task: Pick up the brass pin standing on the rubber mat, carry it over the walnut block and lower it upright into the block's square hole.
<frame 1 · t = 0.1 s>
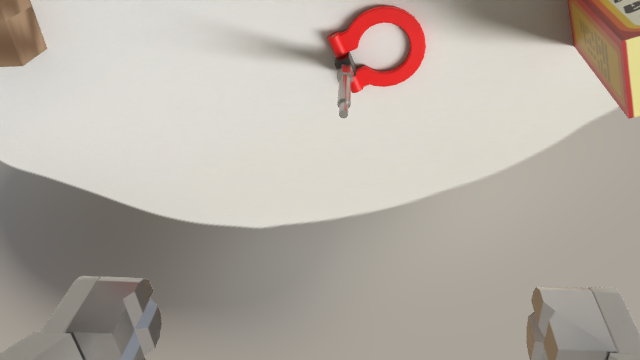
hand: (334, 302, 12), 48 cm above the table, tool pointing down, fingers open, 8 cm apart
tow hook: (380, 46, 58), on the table
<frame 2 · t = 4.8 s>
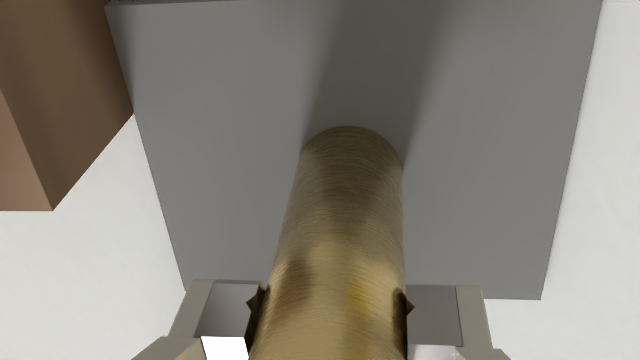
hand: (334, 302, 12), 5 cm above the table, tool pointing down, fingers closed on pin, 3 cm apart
pin: (349, 171, 16), resting on mat, touching gripper
mat: (350, 164, 16), on the table
when the fingers open (6 cm above the table, at t = 10.3 s): pin stays where it is, resting in hole block.
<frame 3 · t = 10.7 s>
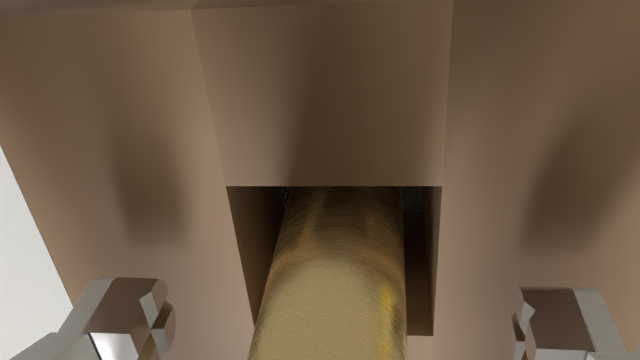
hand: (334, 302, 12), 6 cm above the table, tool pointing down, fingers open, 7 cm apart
pin: (351, 152, 17), resting in hole block
hole block: (350, 153, 17), on the table
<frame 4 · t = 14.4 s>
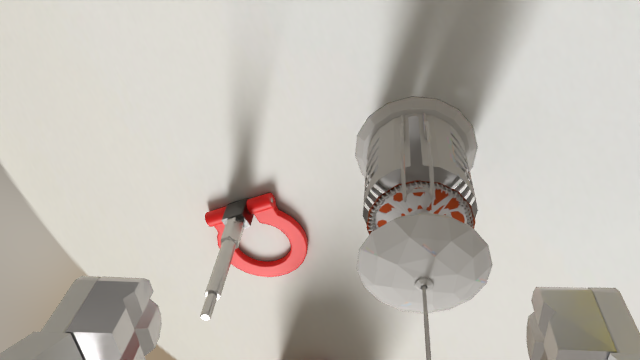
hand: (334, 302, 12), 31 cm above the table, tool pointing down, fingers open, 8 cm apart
french press: (414, 140, 45), on the table
tow hook: (262, 234, 52), on the table
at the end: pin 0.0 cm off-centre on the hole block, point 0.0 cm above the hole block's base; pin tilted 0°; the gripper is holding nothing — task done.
